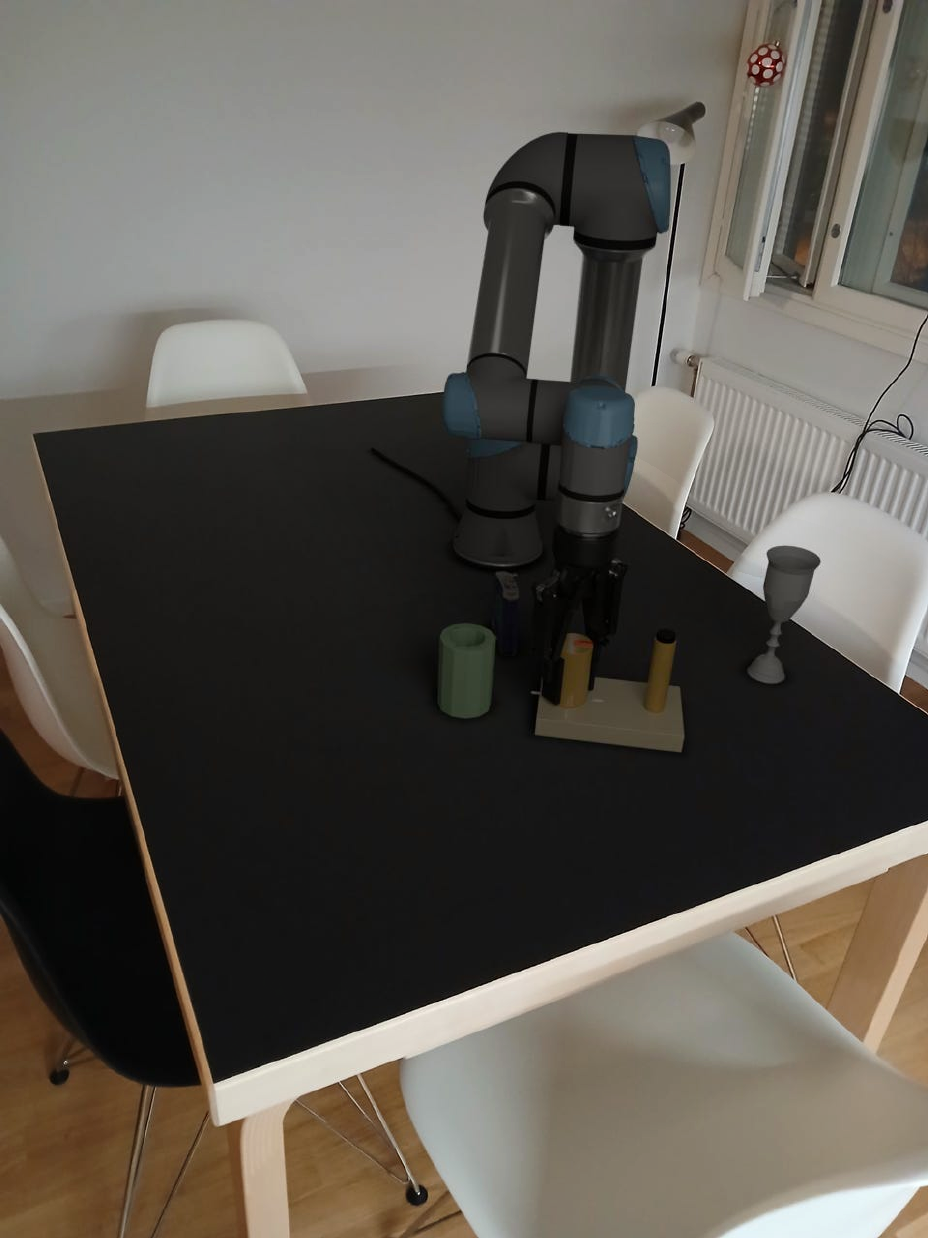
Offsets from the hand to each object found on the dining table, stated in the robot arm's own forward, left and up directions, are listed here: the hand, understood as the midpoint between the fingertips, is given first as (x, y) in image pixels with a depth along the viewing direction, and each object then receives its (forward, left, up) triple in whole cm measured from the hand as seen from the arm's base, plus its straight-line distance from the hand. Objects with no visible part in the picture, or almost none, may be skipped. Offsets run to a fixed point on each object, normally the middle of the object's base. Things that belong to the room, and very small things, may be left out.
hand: (567, 692), depth 122 cm
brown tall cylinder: (+9, +6, -3) cm, 12 cm away
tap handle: (0, 0, -1) cm, 1 cm away
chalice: (+13, +28, -3) cm, 31 cm away
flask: (-18, +8, -3) cm, 20 cm away
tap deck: (+4, +3, -3) cm, 6 cm away
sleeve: (-11, -8, -3) cm, 13 cm away
